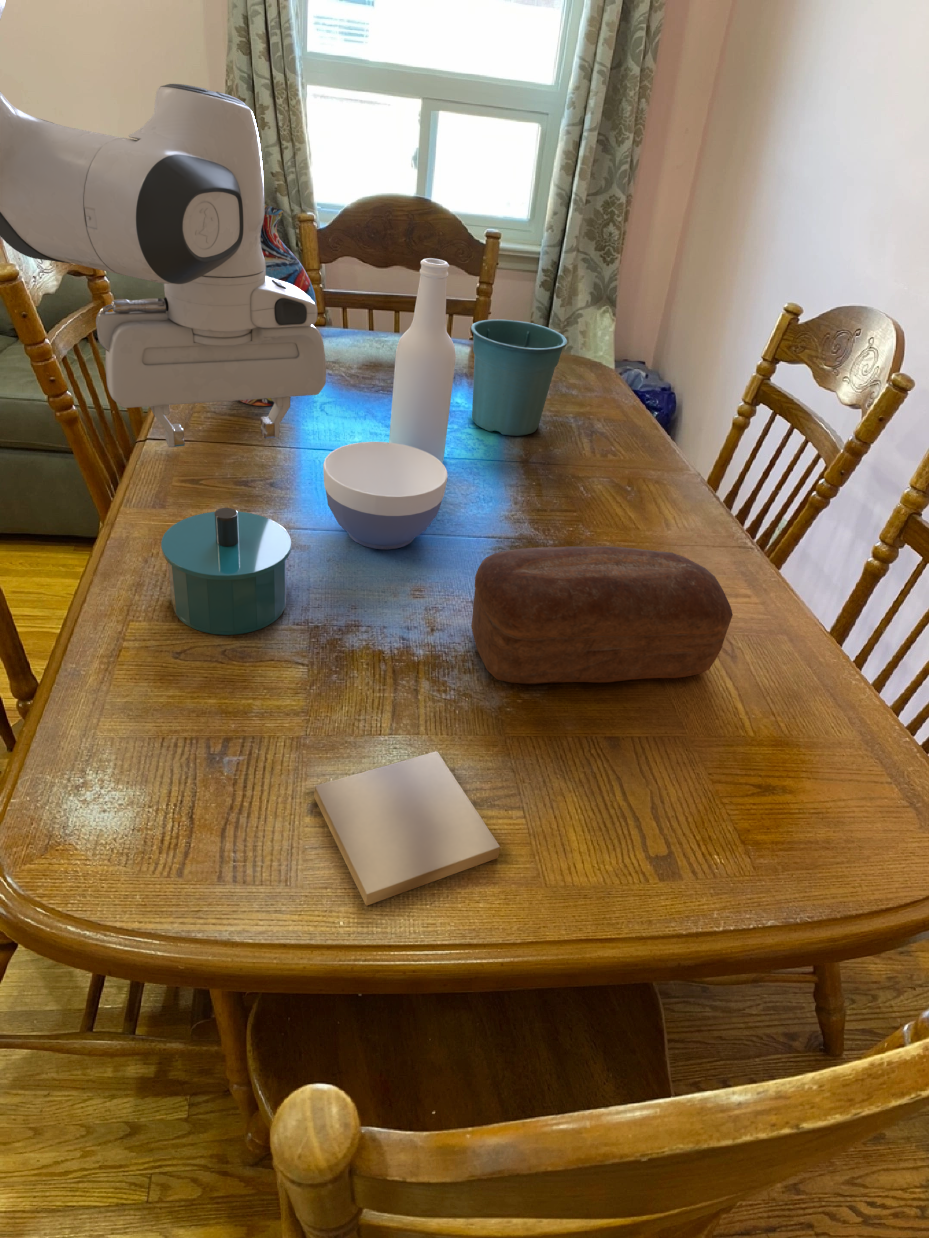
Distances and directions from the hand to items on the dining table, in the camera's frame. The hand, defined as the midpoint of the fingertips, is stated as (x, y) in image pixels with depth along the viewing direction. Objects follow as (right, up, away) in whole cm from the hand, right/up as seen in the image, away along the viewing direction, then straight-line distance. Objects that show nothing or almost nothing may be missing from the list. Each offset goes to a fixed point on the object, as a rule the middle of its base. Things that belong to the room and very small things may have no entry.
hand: (223, 440), depth 82 cm
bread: (+38, -22, +12) cm, 46 cm away
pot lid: (-2, -10, +7) cm, 12 cm away
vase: (-12, +21, +61) cm, 66 cm away
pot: (-3, -16, +11) cm, 20 cm away
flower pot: (+31, +17, +66) cm, 75 cm away
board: (+19, -36, -12) cm, 42 cm away
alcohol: (+16, +7, +48) cm, 51 cm away
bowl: (+13, -6, +29) cm, 32 cm away
